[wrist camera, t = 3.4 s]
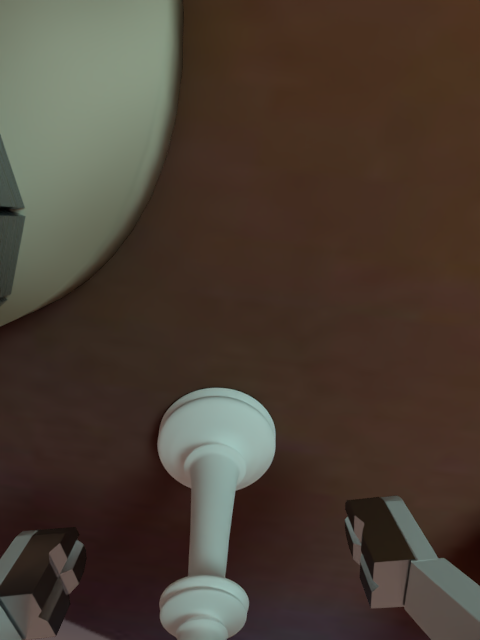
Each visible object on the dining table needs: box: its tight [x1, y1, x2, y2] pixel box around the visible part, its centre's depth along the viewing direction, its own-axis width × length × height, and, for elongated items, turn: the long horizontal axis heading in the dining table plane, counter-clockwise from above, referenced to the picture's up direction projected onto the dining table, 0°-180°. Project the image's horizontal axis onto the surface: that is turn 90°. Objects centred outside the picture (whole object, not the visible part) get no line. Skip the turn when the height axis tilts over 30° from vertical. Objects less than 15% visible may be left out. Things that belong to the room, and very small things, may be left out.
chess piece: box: [157, 388, 276, 640], centre depth 7 cm, size 5×5×10 cm
